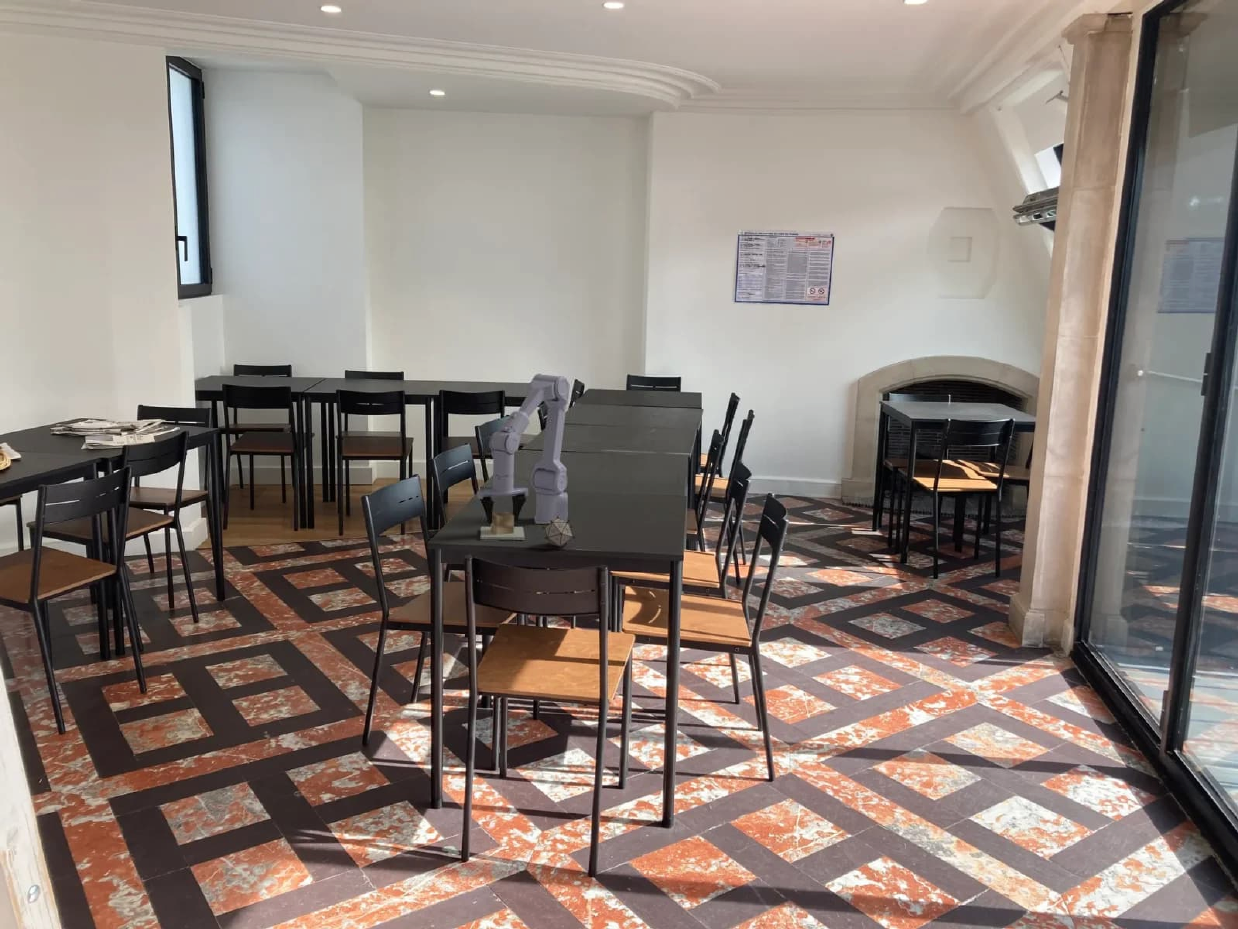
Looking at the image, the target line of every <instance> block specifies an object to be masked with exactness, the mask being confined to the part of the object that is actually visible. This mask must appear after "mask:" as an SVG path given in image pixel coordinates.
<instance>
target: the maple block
mask: <svg viewBox="0 0 1238 929" xmlns="http://www.w3.org/2000/svg"><path fill="white" fill-rule="evenodd" d="M514 525H515V521H514V516H513V513H510V512H509V511H501V512H492V524H490V527H491V531H493V532H494V533H495V534H497V535H498V534H509V533H514V527H515V526H514Z"/></svg>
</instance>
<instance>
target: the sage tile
mask: <svg viewBox="0 0 1238 929" xmlns="http://www.w3.org/2000/svg"><path fill="white" fill-rule="evenodd" d="M481 539H514V540H515V539H517V540H520V539H521V540H524V541H525V532H524V527H523V526H514V533H509V534H498V535H497V534H495V533H494V532H493V531H491V526H481V527H480V540H481Z"/></svg>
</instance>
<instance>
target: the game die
mask: <svg viewBox="0 0 1238 929" xmlns="http://www.w3.org/2000/svg"><path fill="white" fill-rule="evenodd" d="M550 522H551V523H550V524H547V525H546V526H542V530H543V529H544V531H545V537H544V539H545V540H546V539H547V540H548V543H547V546H551V545H554V546H556V547H558V548H559V550H562V546H564V545H566V544H567V545H568V542H569V541H570V540H571V539H576V536H574V535H573V532H572V529H573V526H572V525H570V522H571V520H570V519H567V521H564V520H561V519H558V516H557V519H556V520H554V521H553V522H552V520H551V521H550Z"/></svg>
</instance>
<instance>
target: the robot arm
mask: <svg viewBox="0 0 1238 929" xmlns="http://www.w3.org/2000/svg"><path fill="white" fill-rule="evenodd" d="M570 387H571V385H570V383H569V381H568V379H567V377H565V376H564V375H561V376H558V375H557V376H556V375H549V374H541V373H536V374H535V375H534V376H533V378H532V379H531V381H530V382H529V392H528V394H527V395H526V397H525V398H524V401H523V402H522V404H521V406H520V407H519V409H518V410H517V411H515V410H514V411H512V412H511V413H510V415H509V416H508V418H507V419H506V420H505V422H504V424H503V425H502V427H501V428H500V430H497V431H495V432H494V433H493V434H492V435H491V436H490V438H489V441H488V447H489V448H490V451H491V457H492V458H493V460H492V465H493V466H492V468H493V469H492V488H490V489H484V490H482V489H481V490H477V492H476V494H477V496H476V497H477V499H479V501H480V502H481V503H480V504H481V506H482V507H483V510H484V512H485V517H486V522H487V524H490V525H491V524H492V513H493V507H494V504H495V502H494V500H493V498H503V497H511V500H512V515H513V516H514V523H515V522H518V521H519V518H520V514H521V510H522V509H523V507H524V505H525V503H526V501H527V496H529V488H528V487H514V485H515V484H514V482H515V480H514V476H515V475H514V473H515V471H514V470H515V453H516V452H517V451H518V450H519V447H520V442H521V439H522V438H521V437H522V435H523V434H524V432H525V431H526V429H527V428H528V426H529V425H530V419H529V418H530V417H531V415H532V414H533V413H534V411H536V409H537V408H538V407H539V406H540V404H541V403H543V402H544V403H545V405H546V406H547V412H546V413H547V415H546V422H545V423H546V424H545V430H544V432H545V433H544V440H543V448H542V456H541V459H540V460H539V461H538V462H535V464H534V468H533V471H532V474H531V477H530V481H531V486H532V487H533V489H534V492H536V508H535V510H536V512H535V514H536V515H534V518H533V519H534V524H538V525H539V524H542V525H545V524H546V525H549V524H550V523H551V522H550V521H551V520H552V522H553V521H554V520H556V519H557V516H558V519H561V520H564V521H568V518H569V517H568V516H569V511H568V510H569V509H568V508H569V506H568V505H569V504H568V502H569V499H568V498H569V496H568V492H564V491H565V490H566V488H567V486H568V476H567V470H568V469H567V467H566V466H565V465H564V463H562V462H561V453H562V447H563V446H562V444H563V438H564V437H563V436H564V428H565V420H566V412H567V405H568V404H569V397H570V396H569V395H570Z"/></svg>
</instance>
